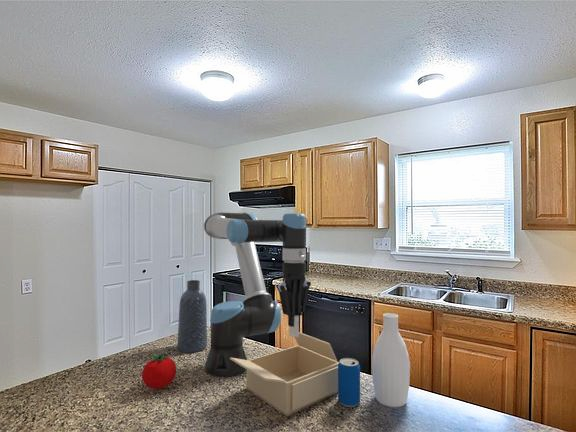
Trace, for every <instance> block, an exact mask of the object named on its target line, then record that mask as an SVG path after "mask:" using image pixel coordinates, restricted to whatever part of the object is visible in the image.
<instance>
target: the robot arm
mask: <svg viewBox="0 0 576 432" xmlns="http://www.w3.org/2000/svg"><path fill="white" fill-rule="evenodd" d="M306 220H307V219H306V215H305V214H304V213H295V212H294V213H284V214H283V216H282V219H271V220H270V219H258V218H257V217H256V215H255V214H253V213H247V212H217V213H213V214H211V215H208V217H207V218H206V219H205V220H204V223H203V229H204V232H205V233H206V235H208V237H210V238H214V239H217V240H219V239H220V240H228V242H230V244H231V245H232V247H235V251H236V256H237V261H238V266H239V271H240V276H241V280H242V286H243V290H244V296H245V298H244V299H243V301H241V300H229V301H223V302H221V303H218V304H216V305H214V306H213V308H211V313H210V315H211V316H210V320H209V321H210V348H209V351H208V354H207V358H206V361H205V363H204V365H205V366H204V368H205V369H204V370H205V372H206V373H207V374H208V375H210V376H213V377H217V378H221V377H222V378H227V377H234V376H237V375H240V374H242V373H244V372H245V371H247V369H245V368H244V367H242V366H240V365H239V364H237V363H235V362H234V361H232V360H230V357H231V358H237V359H243V360H248V359H247V355H246V352H245V349H244V344H243V343H244V341H243V340H244V338H245V337H246V338H247V337H252V336H258V335H268V334H269V333H274V332H276V331H278V329H279V327H280V324H281V321H282V313H283V314H284V315H287V324H288V326H289V336H290V337H293V338H295V337H299V332H300V331H299V329H300V327H299V325H301V316H303V313H305V312H306V307H307V301H308V295H309V290H310V287H311V285H312V282H311V281H307V280H306V276H305V274H306V272H307V264H306V262H305V261H306V260H307V248H306V247H307V221H306ZM256 243H282V257H281V258H282V261H283V262H282V274H283V278H282V282H281V283H280V284H277V285H276V290H277V291H278V294H279V299H280V300H279V301H280V303H279V302H278V301H276V300H273V297H272V295H271V293H269V292H267V288H266V284H265V279H264V276H263V271H262V268H261V267H262V266H261V264H260V259H259V254H258V251H257V246H256Z"/></svg>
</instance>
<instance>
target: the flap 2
mask: <svg viewBox="0 0 576 432" xmlns="http://www.w3.org/2000/svg"><path fill="white" fill-rule="evenodd" d="M294 339H295V341H296V343H297V345H299V346H301V347H303V348H306V349H308V350H311V351H313V352H315V353H318V354H320V355H323V356H325V357H327V358H330V359H332V360H335V361H337V362H338V359H337V357H336V354H335V353H334V350H333V347H332V345H331V343H329V342H328V341H324V340H323V339H319V338H317V337H314V336H311V335H308V334H305V333H303V332H301V331H299V337H294Z"/></svg>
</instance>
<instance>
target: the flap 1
mask: <svg viewBox="0 0 576 432" xmlns="http://www.w3.org/2000/svg"><path fill="white" fill-rule="evenodd" d="M230 360H232V361H234V362H235V363H237V364H239V365H240V366H242V367H244V368H245V369H246V371H247V370H249V371H250V372H252V373H254V374H255V375H257V376H259V377H260V378H262V379H264V380H267V381H275V382H283V383H284V380H282V379H280V378H279V377H277V376H275V375H273V374H272V373H270V372H268V371H266V370H264V369H263V368H261V367H259V366H257V365H256V364H254V363H252V362H250V361H249V360H250V359H247V360H243V359H237V358H231V357H230Z"/></svg>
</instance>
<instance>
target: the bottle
mask: <svg viewBox="0 0 576 432" xmlns="http://www.w3.org/2000/svg"><path fill="white" fill-rule="evenodd" d="M382 316H383V320H382V321H383V323H382V324H383V325H382V331H381V333H380V335H379V336H378V338H377V339H376V340H375V341H376V342H375V344H374V348H373V350H372V351H373V352H372V357H371V374H372V384H373V391H374V397H375V399H376V401H377V402H379V404H381V405H383V406H385V407H389V408H400V407H401V408H402V407H403V406H405V405H406V403H408V396H409V390H410V381H411V380H410V377H411V375H410V374H411V363H410V356H409V352H408V347H407V345H406V343H405V340H404V339H403V337H402V335H401V333H400V332H399V315H398V314H396V313H393V312H392V313H390V312H389V313H386V312H385V313H383V314H382Z"/></svg>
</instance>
